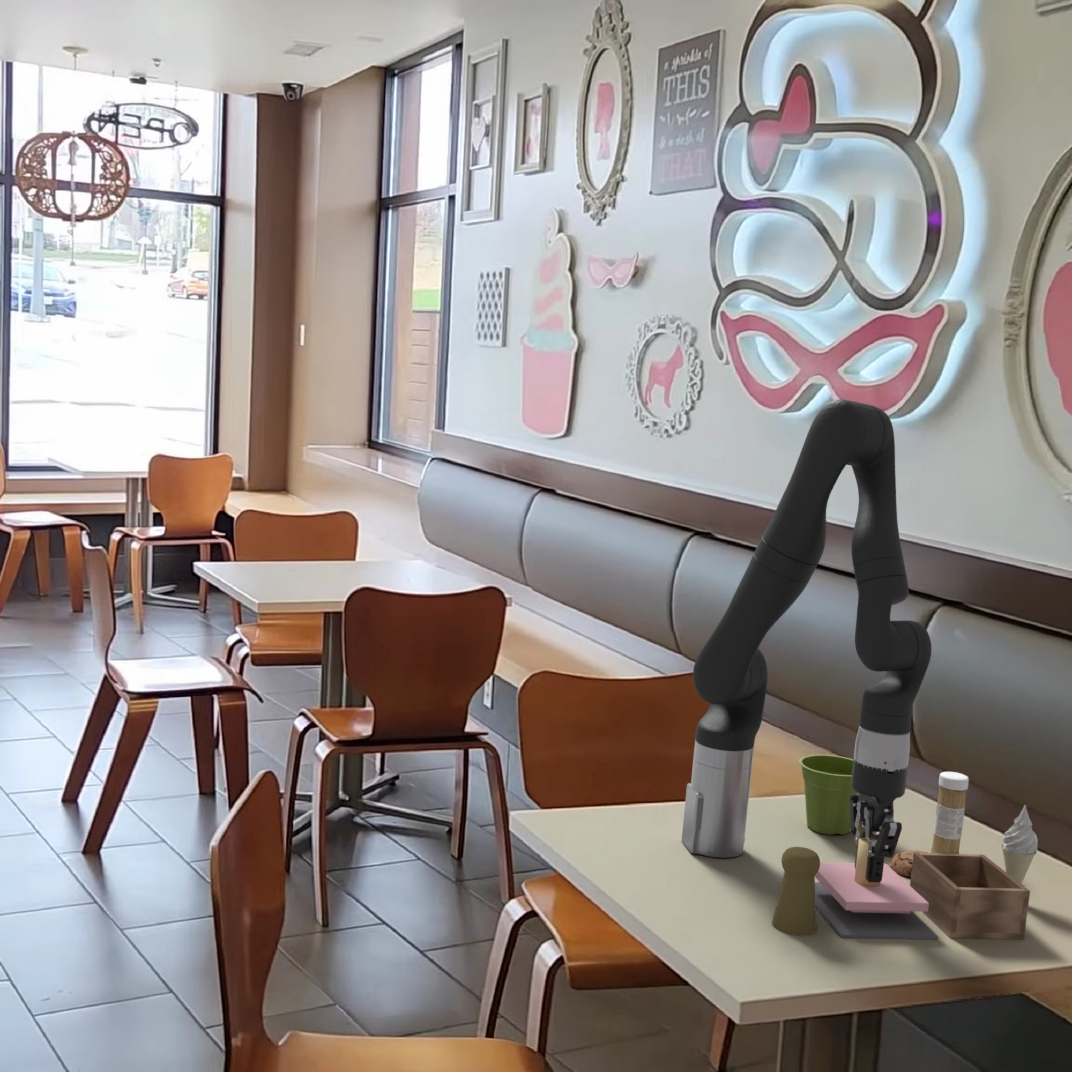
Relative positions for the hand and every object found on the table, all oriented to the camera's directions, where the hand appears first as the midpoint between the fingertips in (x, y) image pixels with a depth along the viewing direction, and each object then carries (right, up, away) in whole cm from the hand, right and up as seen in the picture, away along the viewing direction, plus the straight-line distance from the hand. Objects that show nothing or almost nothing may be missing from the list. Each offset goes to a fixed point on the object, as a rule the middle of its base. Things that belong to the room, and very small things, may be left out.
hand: (867, 875), depth 198 cm
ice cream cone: (+24, -6, +9) cm, 26 cm away
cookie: (+13, -5, +19) cm, 24 cm away
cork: (-12, -6, -7) cm, 15 cm away
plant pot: (+2, -1, +36) cm, 36 cm away
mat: (0, -5, +1) cm, 5 cm away
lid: (0, -3, 0) cm, 3 cm away
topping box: (+14, -6, +1) cm, 15 cm away
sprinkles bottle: (+19, -4, +28) cm, 34 cm away
